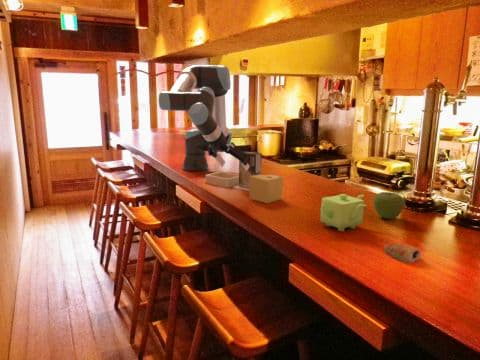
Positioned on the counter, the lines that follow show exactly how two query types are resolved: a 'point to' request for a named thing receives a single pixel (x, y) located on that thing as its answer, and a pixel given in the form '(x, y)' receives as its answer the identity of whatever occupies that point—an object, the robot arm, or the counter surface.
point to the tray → (222, 179)
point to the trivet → (241, 188)
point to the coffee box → (253, 169)
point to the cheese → (265, 188)
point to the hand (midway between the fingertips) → (235, 166)
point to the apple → (388, 204)
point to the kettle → (342, 211)
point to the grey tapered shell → (402, 252)
